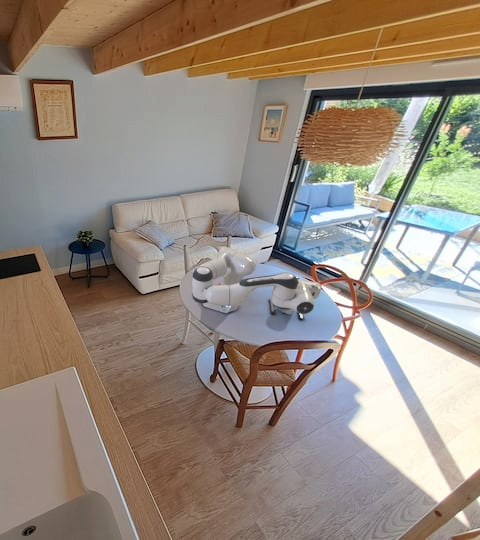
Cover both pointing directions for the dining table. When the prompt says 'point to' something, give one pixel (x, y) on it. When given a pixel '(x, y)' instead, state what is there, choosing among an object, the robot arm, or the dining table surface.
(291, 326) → the dining table surface
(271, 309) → the bay rails
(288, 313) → the mug
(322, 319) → the dining table surface
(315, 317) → the dining table surface
